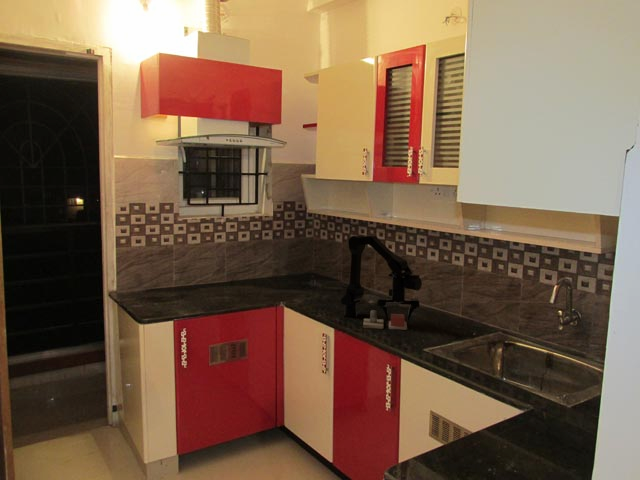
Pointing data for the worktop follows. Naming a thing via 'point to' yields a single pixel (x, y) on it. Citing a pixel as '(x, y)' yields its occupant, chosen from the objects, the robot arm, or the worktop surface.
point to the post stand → (373, 321)
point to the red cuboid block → (397, 320)
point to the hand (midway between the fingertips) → (397, 320)
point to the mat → (398, 326)
